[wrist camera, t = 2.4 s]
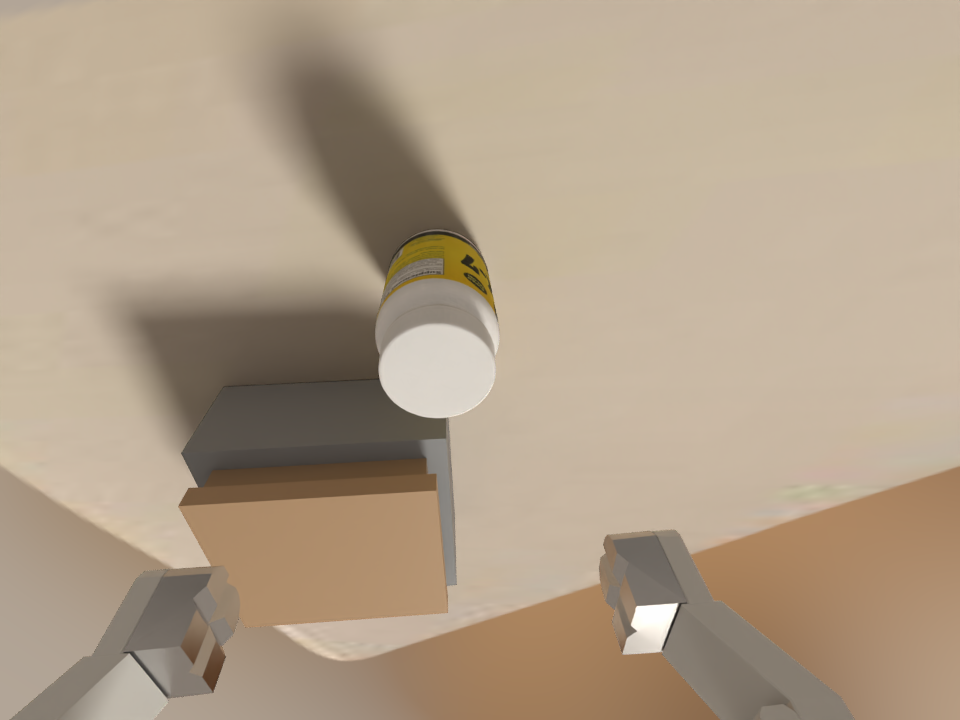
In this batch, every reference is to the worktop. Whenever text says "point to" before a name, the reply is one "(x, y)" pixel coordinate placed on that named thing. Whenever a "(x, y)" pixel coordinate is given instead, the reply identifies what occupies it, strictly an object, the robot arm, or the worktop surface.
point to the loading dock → (322, 435)
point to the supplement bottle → (437, 326)
